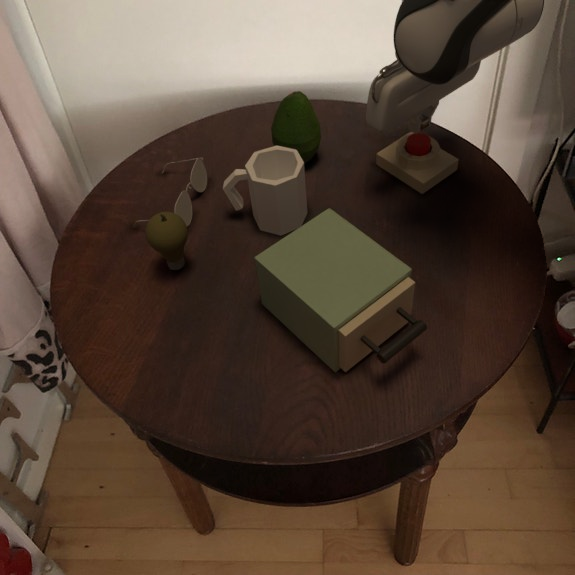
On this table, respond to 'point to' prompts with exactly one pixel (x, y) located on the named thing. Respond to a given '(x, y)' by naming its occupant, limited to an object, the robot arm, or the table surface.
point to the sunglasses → (198, 184)
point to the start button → (418, 144)
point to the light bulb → (168, 237)
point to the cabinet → (325, 280)
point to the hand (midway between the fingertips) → (419, 128)
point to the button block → (417, 164)
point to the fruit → (296, 126)
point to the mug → (272, 189)
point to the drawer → (380, 327)
